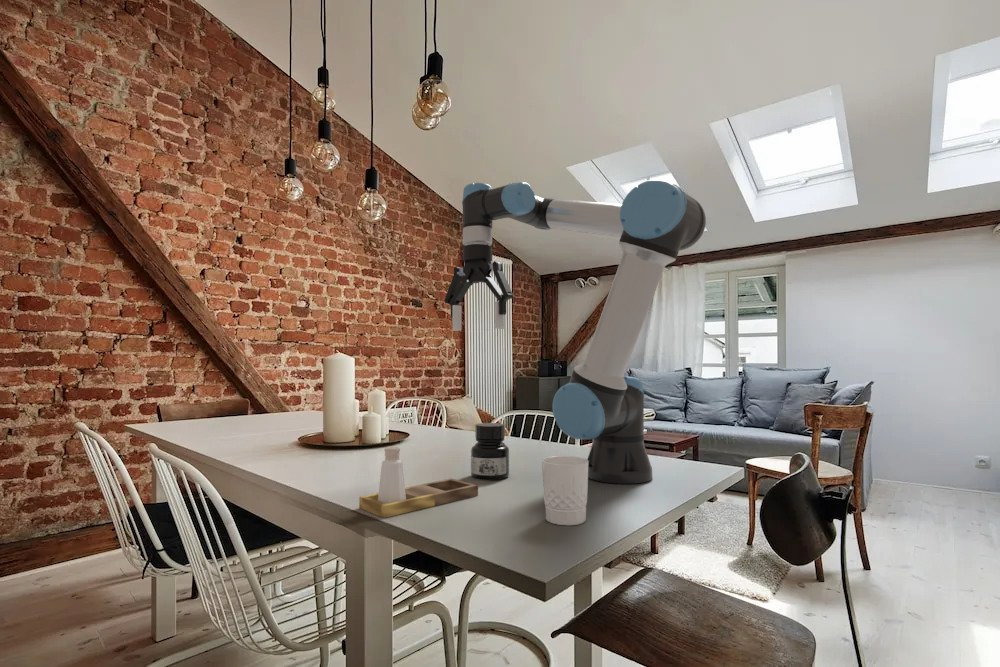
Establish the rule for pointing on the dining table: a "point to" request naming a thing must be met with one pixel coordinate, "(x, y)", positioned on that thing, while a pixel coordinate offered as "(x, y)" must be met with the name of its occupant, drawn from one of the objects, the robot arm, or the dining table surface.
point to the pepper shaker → (391, 477)
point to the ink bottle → (490, 452)
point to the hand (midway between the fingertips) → (477, 329)
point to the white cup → (565, 489)
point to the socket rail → (420, 497)
